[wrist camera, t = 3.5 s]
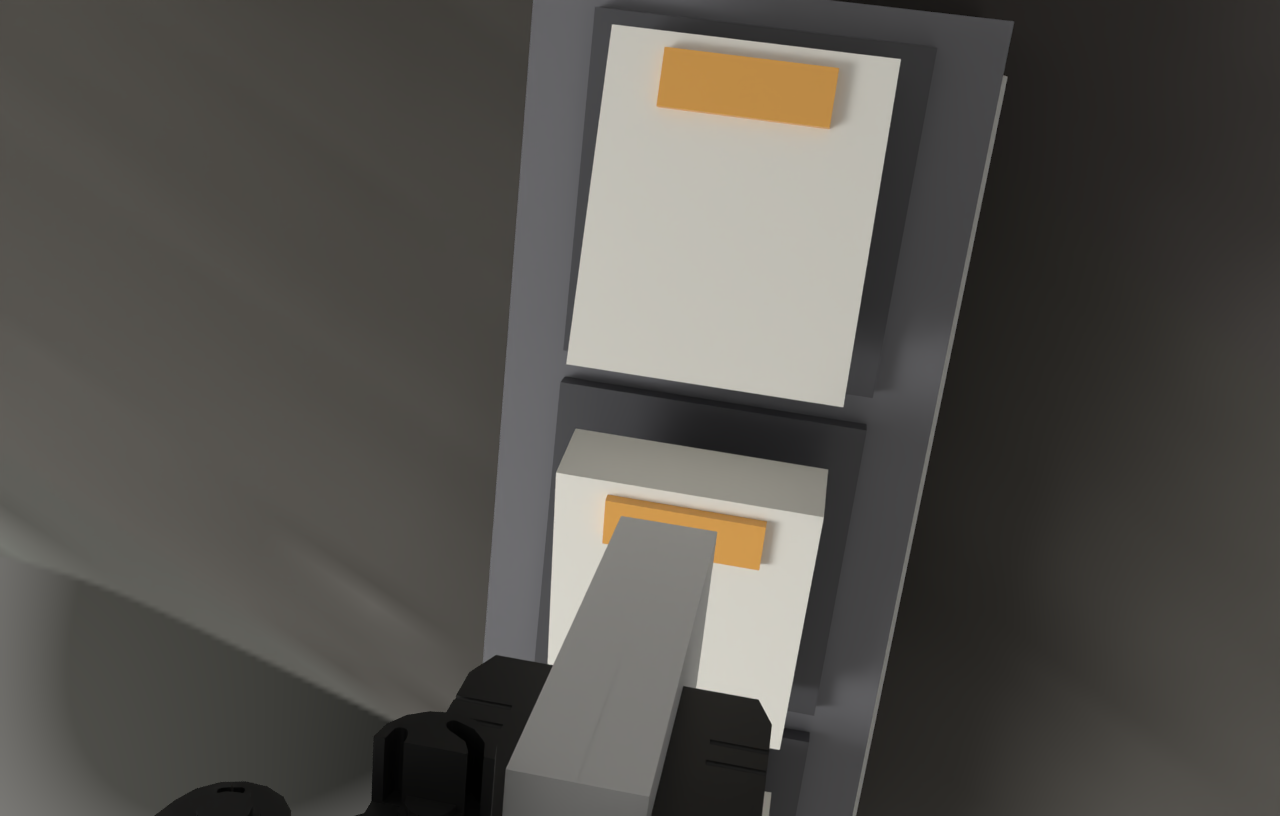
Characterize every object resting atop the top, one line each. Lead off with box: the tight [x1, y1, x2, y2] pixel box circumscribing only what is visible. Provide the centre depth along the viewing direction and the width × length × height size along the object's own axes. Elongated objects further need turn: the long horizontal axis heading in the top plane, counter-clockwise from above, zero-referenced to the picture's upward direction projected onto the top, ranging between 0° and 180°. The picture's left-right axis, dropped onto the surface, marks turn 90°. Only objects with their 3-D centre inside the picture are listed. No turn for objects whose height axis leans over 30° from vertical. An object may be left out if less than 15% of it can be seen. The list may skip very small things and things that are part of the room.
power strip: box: [483, 0, 1014, 816], centre depth 29 cm, size 9×29×5 cm, turn 173°
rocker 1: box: [566, 24, 901, 407], centre depth 22 cm, size 5×6×2 cm
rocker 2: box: [548, 429, 828, 750], centre depth 24 cm, size 5×6×2 cm
